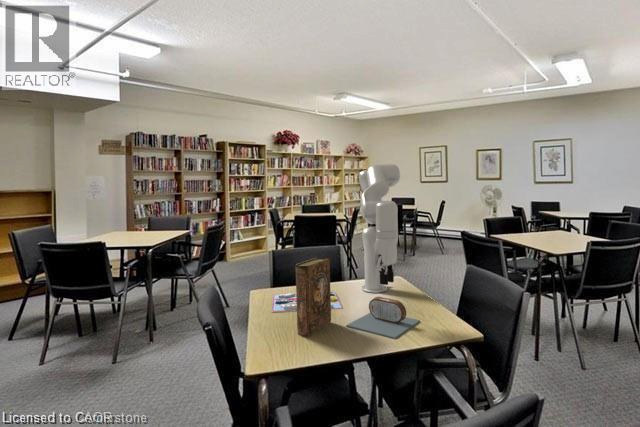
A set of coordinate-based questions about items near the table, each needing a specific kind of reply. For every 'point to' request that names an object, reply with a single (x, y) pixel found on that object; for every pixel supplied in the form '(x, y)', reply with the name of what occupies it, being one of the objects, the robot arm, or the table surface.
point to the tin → (387, 309)
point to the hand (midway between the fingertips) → (386, 282)
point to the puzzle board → (290, 302)
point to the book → (313, 295)
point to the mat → (383, 326)
